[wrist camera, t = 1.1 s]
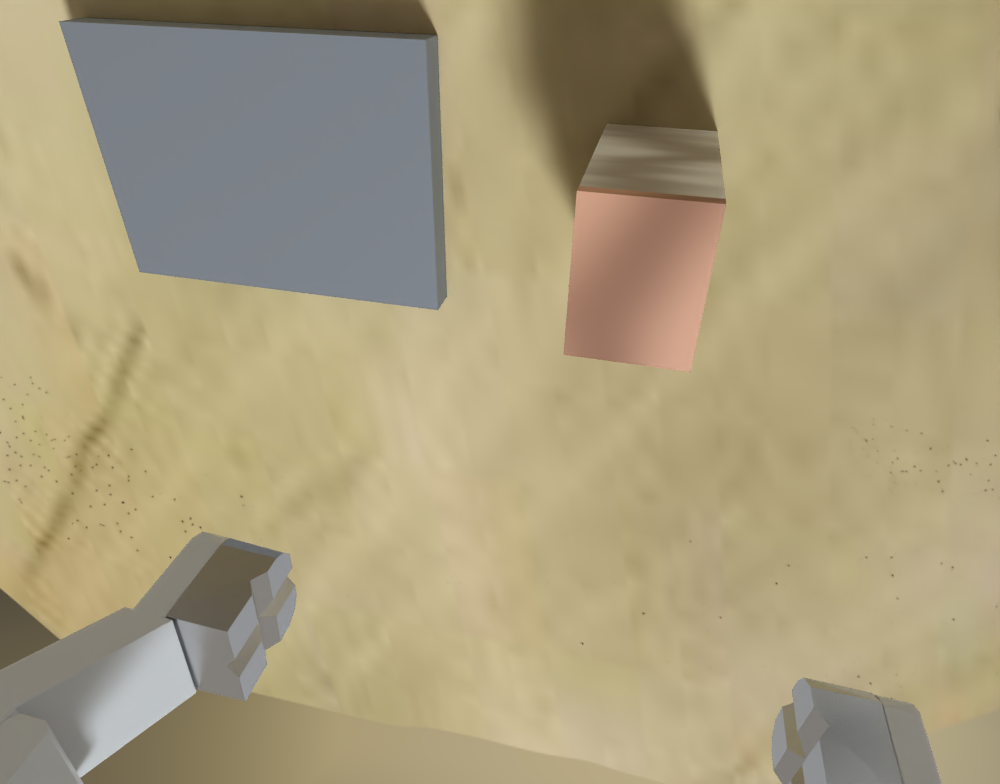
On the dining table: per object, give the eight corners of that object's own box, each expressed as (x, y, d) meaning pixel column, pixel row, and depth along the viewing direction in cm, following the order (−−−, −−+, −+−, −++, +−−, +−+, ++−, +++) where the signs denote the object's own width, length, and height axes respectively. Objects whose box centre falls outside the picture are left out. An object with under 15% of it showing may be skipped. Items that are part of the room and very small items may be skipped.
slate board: (157, 261, 38) (139, 271, 36) (83, 17, 31) (59, 21, 29) (446, 296, 34) (437, 310, 33) (437, 34, 28) (425, 40, 26)
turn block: (717, 131, 27) (725, 204, 20) (691, 267, 31) (690, 371, 23) (606, 123, 28) (576, 190, 21) (593, 257, 31) (563, 354, 24)
